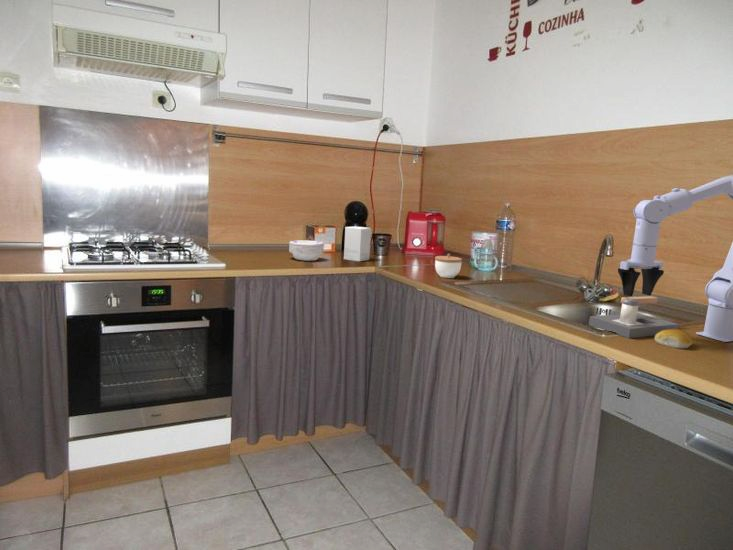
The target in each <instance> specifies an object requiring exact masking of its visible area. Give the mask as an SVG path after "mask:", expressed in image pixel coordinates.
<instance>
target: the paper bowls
mask: <svg viewBox="0 0 733 550" xmlns="http://www.w3.org/2000/svg"><path fill="white" fill-rule="evenodd" d="M324 247H325V243H324V242H322V241H319V240H308V239H307V240H304V239H303V240H301V239H300V240H290V241H289V245H288V250H289V253H290V254H292V256H293V258H294V260H297V261H305V262H311V261H317V260H318V259H319V258H320V256H321V255H323V254H324V251H325V249H324Z"/></svg>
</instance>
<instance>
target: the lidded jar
mask: <svg viewBox="0 0 733 550" xmlns="http://www.w3.org/2000/svg"><path fill="white" fill-rule="evenodd" d="M462 262H463V258H461V257H457V256H451V253H447V255H437V256H435V257H434V269H435V271H436V274H438V275H439V276H438V277H440V278H442V279H443V278H444V279H445V278H446V279H454V278H455V277H456V276H457V275H458V274H459V273H460V271H461V269H462V268H461V267H462Z"/></svg>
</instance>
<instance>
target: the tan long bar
mask: <svg viewBox="0 0 733 550" xmlns="http://www.w3.org/2000/svg"><path fill="white" fill-rule="evenodd" d="M623 299H634V300H637V301H639V304H657V303H658V300H659V299H658V297H656V296H651V295H650V296H649V295H646V296H645V295H644V296H632V297H630V296H622V297H621V298H620V303H622V301H623Z"/></svg>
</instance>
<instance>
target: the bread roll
mask: <svg viewBox="0 0 733 550" xmlns="http://www.w3.org/2000/svg"><path fill="white" fill-rule="evenodd" d="M653 339H654V341H655V342H656V343H657V344H660V345H661V346H665V347H668V348H669V347H670V348H674V349H687V348H690V347H691V346H692V345H693V343H694V341H693V338H692V336H691V335H690V334H689V333H688V332H686V331H684V330H682V329H679V328H678V329H668V330H662V331H660V332H659V333H657V334H656V335H654V338H653Z"/></svg>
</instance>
